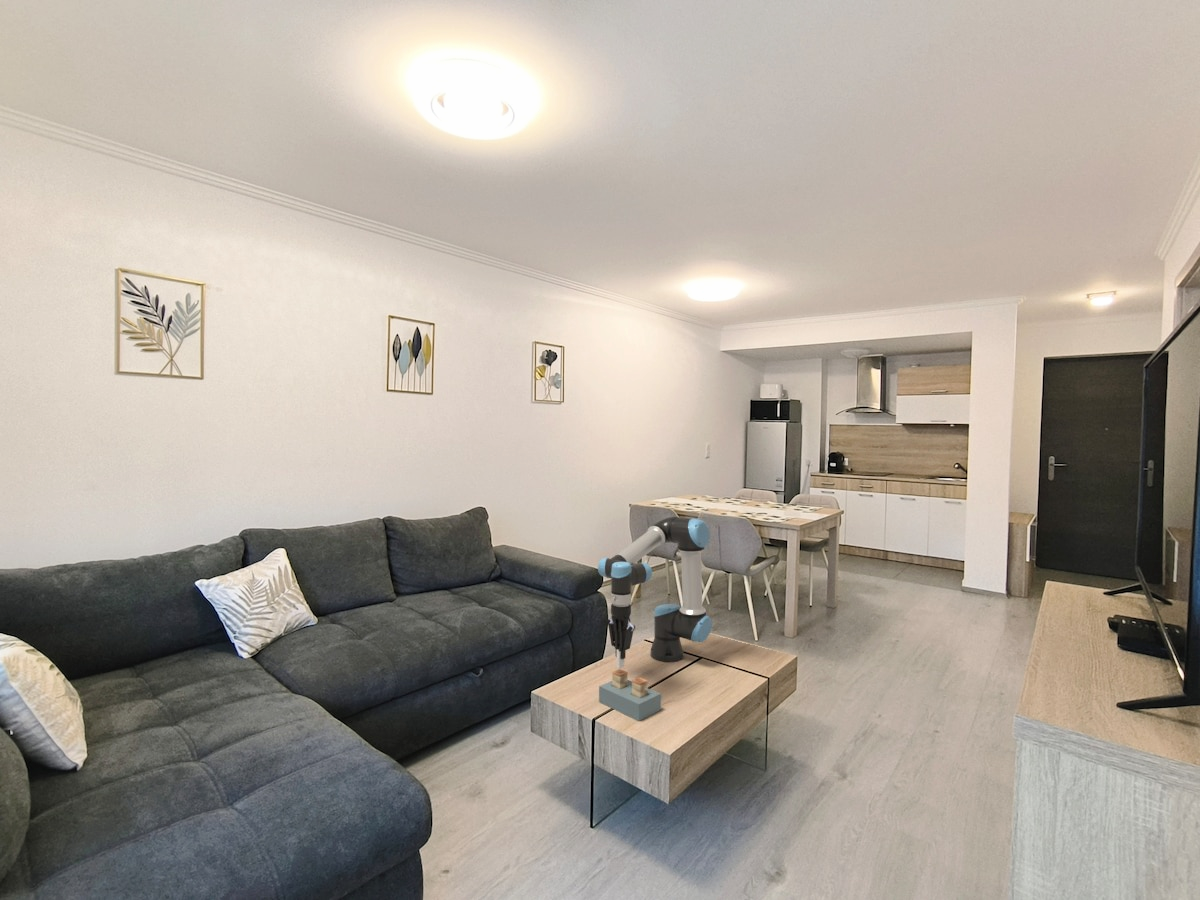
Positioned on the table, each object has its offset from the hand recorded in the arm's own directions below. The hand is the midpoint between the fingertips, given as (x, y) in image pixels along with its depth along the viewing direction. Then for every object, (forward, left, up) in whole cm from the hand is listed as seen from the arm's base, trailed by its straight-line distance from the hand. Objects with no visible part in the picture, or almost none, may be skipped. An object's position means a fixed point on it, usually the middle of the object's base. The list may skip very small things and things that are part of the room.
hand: (620, 666), depth 210 cm
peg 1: (0, 0, -8) cm, 8 cm away
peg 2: (0, +10, -8) cm, 13 cm away
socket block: (0, +5, -13) cm, 14 cm away
